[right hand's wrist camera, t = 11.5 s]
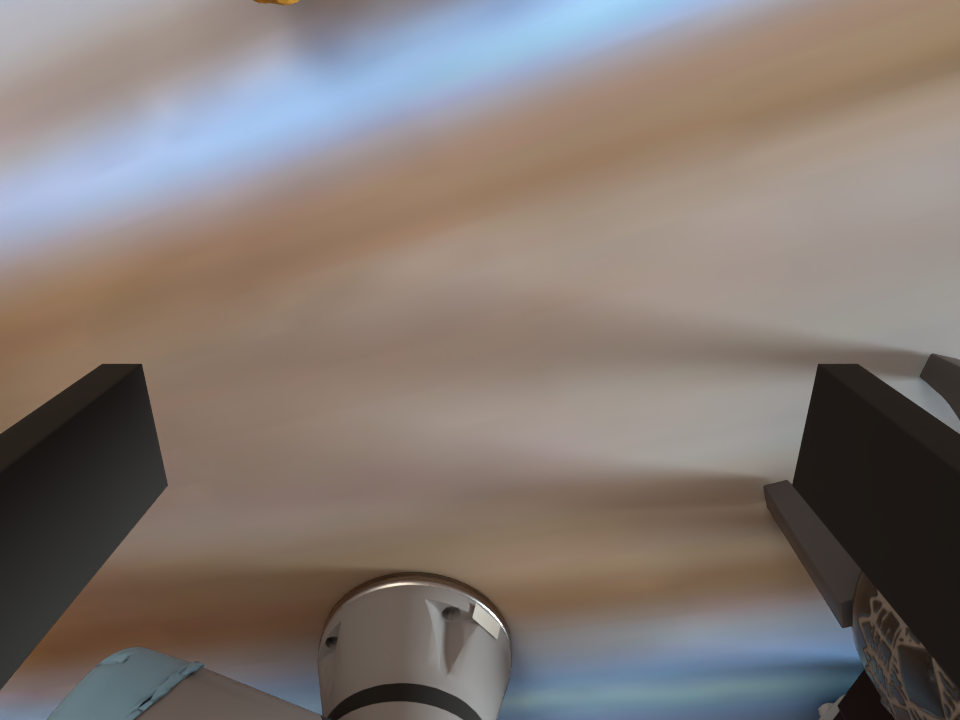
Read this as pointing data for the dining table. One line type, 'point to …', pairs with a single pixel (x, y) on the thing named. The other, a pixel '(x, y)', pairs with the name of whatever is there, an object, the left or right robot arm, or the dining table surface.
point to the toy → (278, 1)
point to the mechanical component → (857, 703)
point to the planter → (873, 593)
